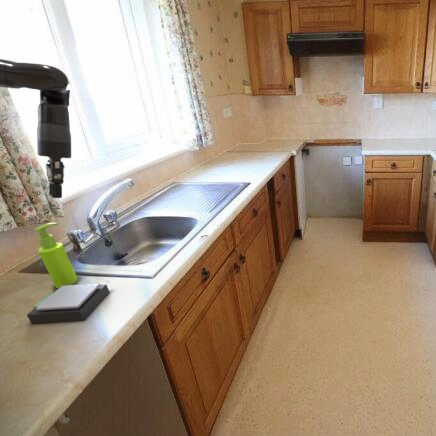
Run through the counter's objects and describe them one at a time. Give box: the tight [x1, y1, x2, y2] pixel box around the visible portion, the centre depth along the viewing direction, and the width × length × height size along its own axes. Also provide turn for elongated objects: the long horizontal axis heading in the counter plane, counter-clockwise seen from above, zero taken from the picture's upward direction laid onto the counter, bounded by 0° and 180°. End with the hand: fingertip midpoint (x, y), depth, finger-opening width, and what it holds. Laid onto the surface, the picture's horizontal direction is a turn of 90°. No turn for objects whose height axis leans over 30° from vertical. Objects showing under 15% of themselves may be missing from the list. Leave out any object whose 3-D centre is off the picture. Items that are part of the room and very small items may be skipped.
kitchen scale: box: [26, 283, 110, 324], centre depth 91 cm, size 14×12×4 cm
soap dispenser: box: [33, 221, 79, 289], centre depth 99 cm, size 6×7×20 cm
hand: (55, 196), depth 95 cm, fingers open, 8 cm apart
